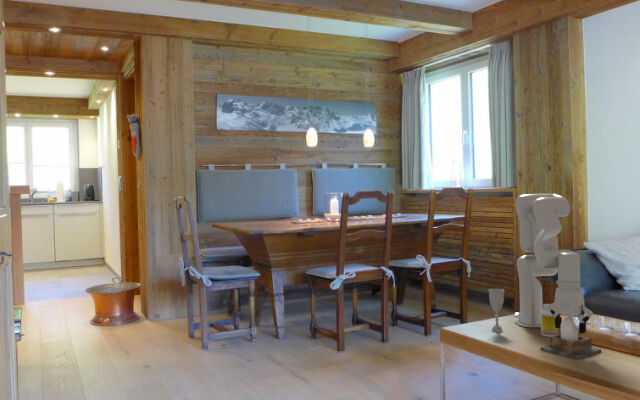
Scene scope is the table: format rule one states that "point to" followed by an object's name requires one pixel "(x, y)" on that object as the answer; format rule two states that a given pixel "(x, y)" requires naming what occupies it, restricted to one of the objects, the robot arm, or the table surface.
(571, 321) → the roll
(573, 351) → the brown wooden open box
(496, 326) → the chalice
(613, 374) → the table surface
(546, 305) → the supplement bottle
